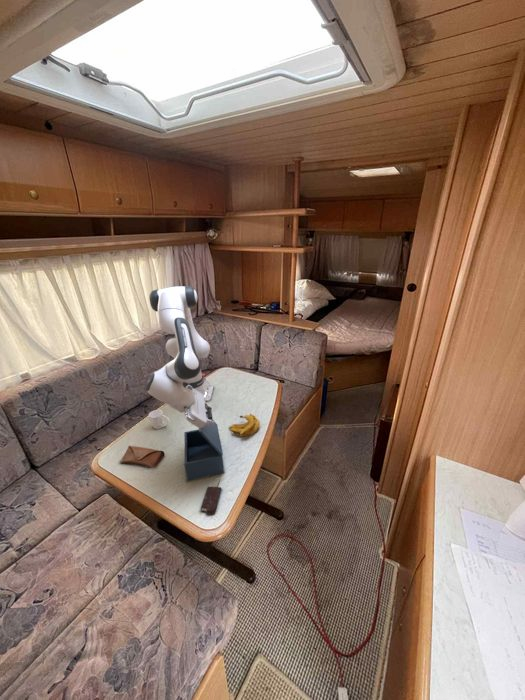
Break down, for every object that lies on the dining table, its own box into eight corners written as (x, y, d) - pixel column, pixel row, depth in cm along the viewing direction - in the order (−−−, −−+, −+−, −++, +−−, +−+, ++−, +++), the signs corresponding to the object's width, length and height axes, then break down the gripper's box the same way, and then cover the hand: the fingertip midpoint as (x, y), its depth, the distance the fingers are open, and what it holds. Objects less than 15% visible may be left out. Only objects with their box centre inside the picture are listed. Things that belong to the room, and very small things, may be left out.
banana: (262, 417, 147) (261, 408, 145) (256, 442, 130) (255, 432, 128) (234, 415, 150) (233, 406, 147) (225, 439, 132) (224, 430, 130)
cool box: (187, 480, 111) (184, 464, 107) (187, 447, 128) (184, 432, 125) (224, 472, 114) (222, 456, 111) (218, 440, 132) (216, 425, 128)
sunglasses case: (118, 463, 120) (120, 447, 121) (128, 459, 127) (130, 444, 127) (155, 468, 116) (157, 452, 117) (163, 464, 123) (165, 448, 124)
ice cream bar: (211, 478, 111) (200, 513, 98) (211, 475, 111) (199, 510, 97) (224, 479, 111) (214, 514, 97) (223, 476, 110) (214, 511, 97)
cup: (155, 421, 147) (152, 409, 143) (172, 422, 145) (170, 410, 142) (148, 430, 140) (145, 417, 137) (167, 431, 139) (164, 418, 136)
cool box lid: (199, 432, 103) (210, 424, 103) (196, 403, 121) (206, 397, 121) (221, 456, 110) (232, 449, 111) (215, 425, 128) (225, 419, 128)
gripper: (190, 410, 98) (219, 426, 104) (188, 382, 116) (214, 397, 122) (179, 422, 99) (209, 438, 105) (179, 393, 117) (205, 407, 123)
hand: (211, 416), depth 114 cm, fingers open, 8 cm apart
